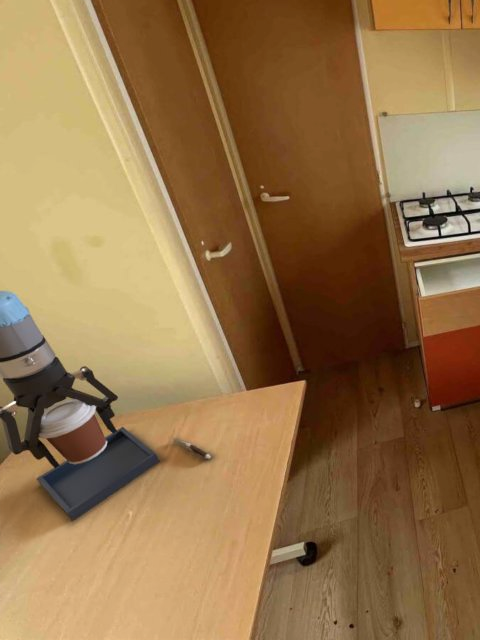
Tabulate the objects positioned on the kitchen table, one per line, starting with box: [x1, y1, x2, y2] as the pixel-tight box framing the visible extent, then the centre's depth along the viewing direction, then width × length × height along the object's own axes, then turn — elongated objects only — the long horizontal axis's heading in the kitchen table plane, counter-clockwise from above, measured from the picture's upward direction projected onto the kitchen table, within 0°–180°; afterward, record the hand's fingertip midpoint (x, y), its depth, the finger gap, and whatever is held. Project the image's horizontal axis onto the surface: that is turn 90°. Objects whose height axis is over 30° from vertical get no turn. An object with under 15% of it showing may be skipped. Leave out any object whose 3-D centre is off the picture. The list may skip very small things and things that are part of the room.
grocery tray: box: [36, 426, 161, 522], centre depth 94 cm, size 16×16×3 cm
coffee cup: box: [38, 398, 107, 464], centre depth 88 cm, size 9×9×12 cm
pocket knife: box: [172, 437, 212, 460], centre depth 100 cm, size 14×1×2 cm, turn 67°
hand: (84, 446), depth 91 cm, fingers closed on coffee cup, 9 cm apart
